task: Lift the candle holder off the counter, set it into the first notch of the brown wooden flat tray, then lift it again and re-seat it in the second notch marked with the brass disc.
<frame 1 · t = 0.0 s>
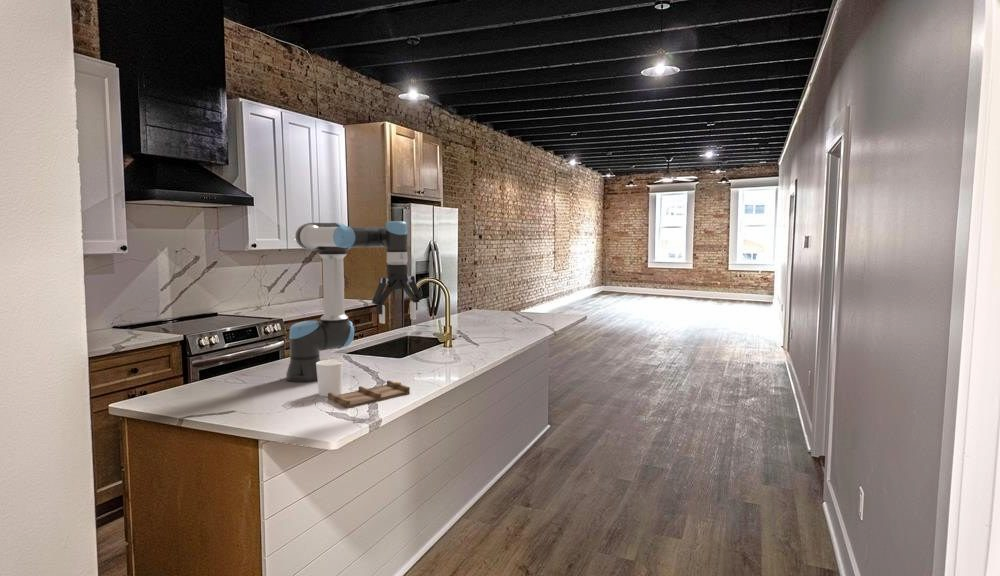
hand: (398, 321, 209), 28 cm above the table, fingers open, 13 cm apart
candle holder: (330, 394, 214), on the table
brown wooden flat tray: (369, 396, 210), on the table
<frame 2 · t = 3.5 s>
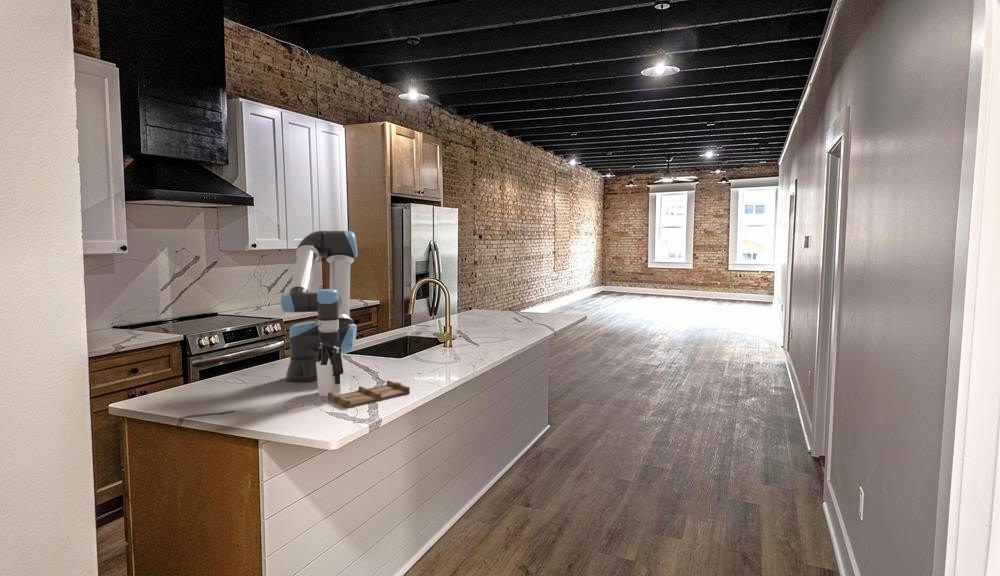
hand: (330, 389, 214), 2 cm above the table, fingers closed on candle holder, 9 cm apart
candle holder: (330, 394, 214), on the table, touching gripper
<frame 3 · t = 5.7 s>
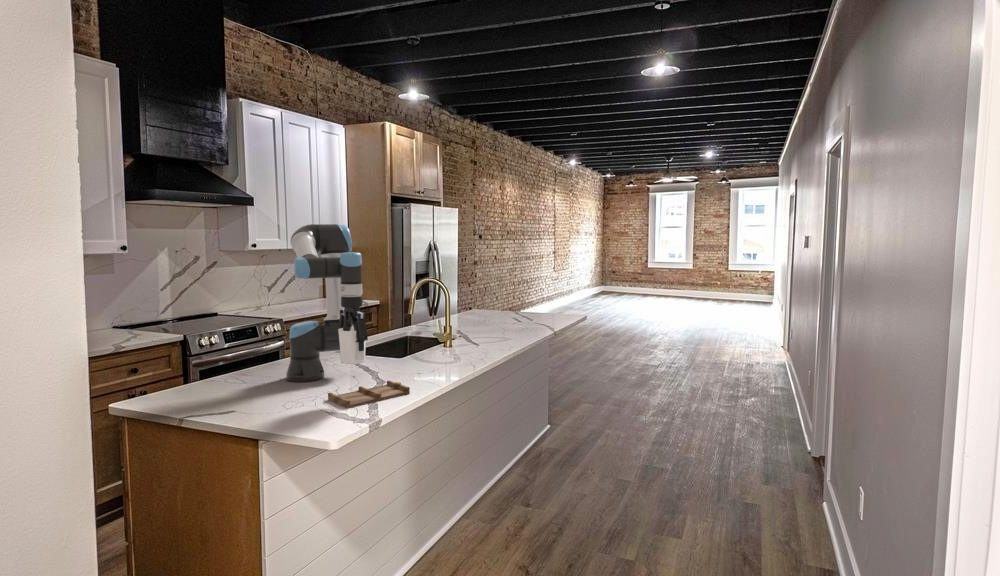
hand: (353, 357, 204), 16 cm above the table, fingers closed on candle holder, 9 cm apart
candle holder: (353, 362, 204), point 14 cm above the table, touching gripper
when the fingers open (4 cm above the table, at t = 8.3 s): candle holder drops 1 cm, resting on brown wooden flat tray.
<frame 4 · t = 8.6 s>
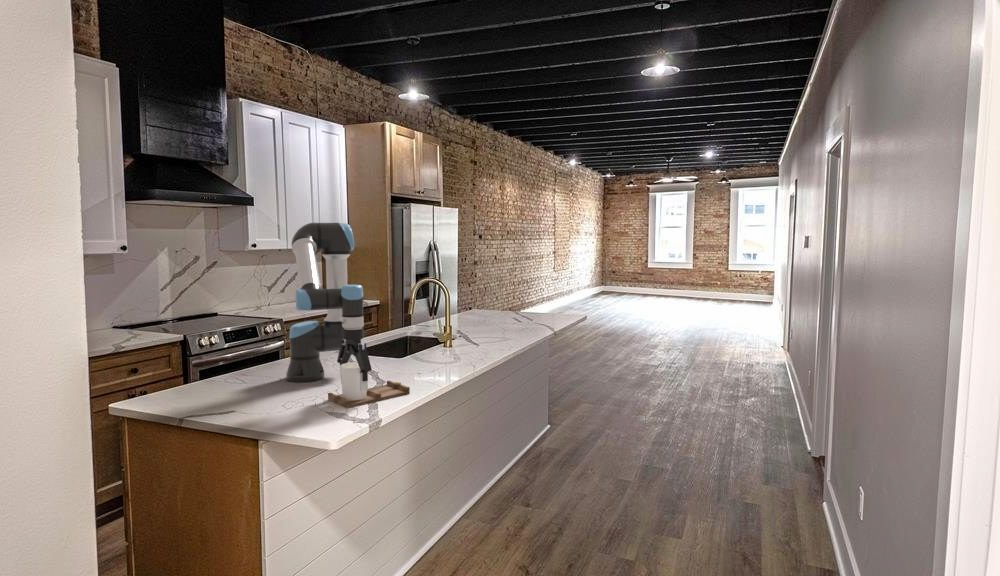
hand: (354, 386, 205), 5 cm above the table, fingers open, 13 cm apart
candle holder: (354, 398, 206), point 1 cm above the table, touching brown wooden flat tray
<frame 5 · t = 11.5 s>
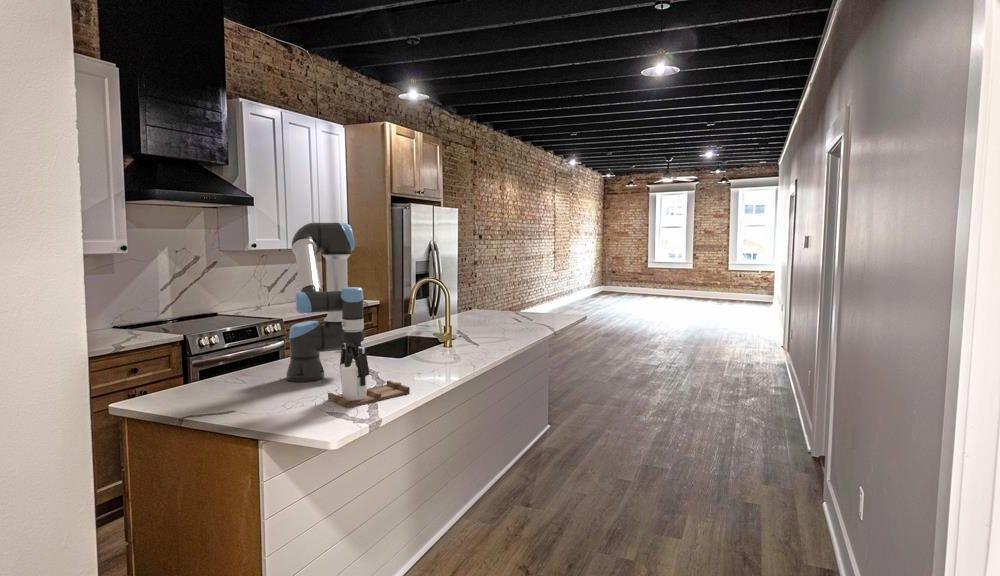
hand: (354, 391, 205), 3 cm above the table, fingers closed on candle holder, 9 cm apart
candle holder: (354, 397, 206), point 1 cm above the table, touching gripper, brown wooden flat tray
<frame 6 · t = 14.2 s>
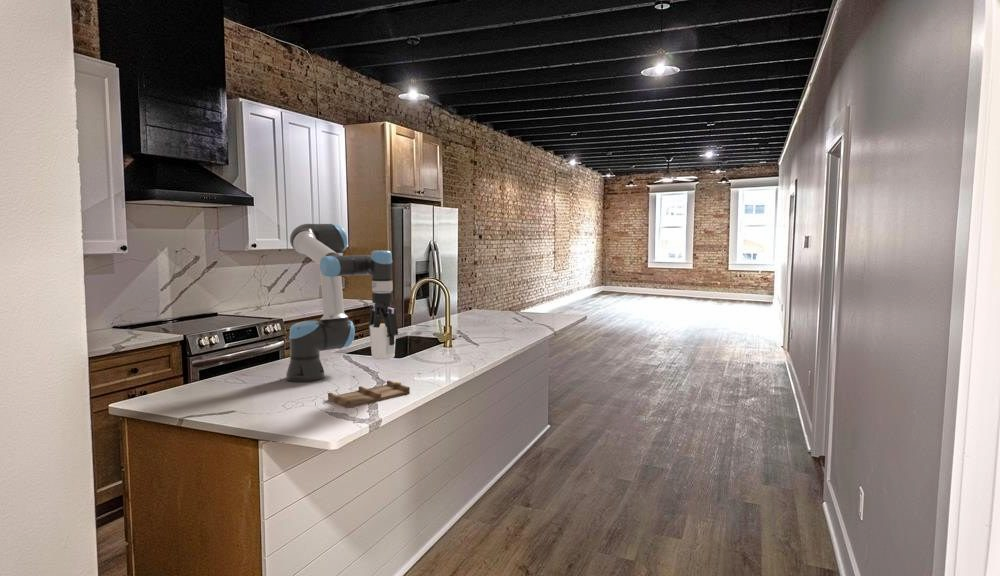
hand: (383, 351, 213), 16 cm above the table, fingers closed on candle holder, 9 cm apart
candle holder: (383, 357, 213), point 14 cm above the table, touching gripper
when the fingers open (4 cm above the table, at t = 16.8 s): candle holder stays where it is, resting on brown wooden flat tray.
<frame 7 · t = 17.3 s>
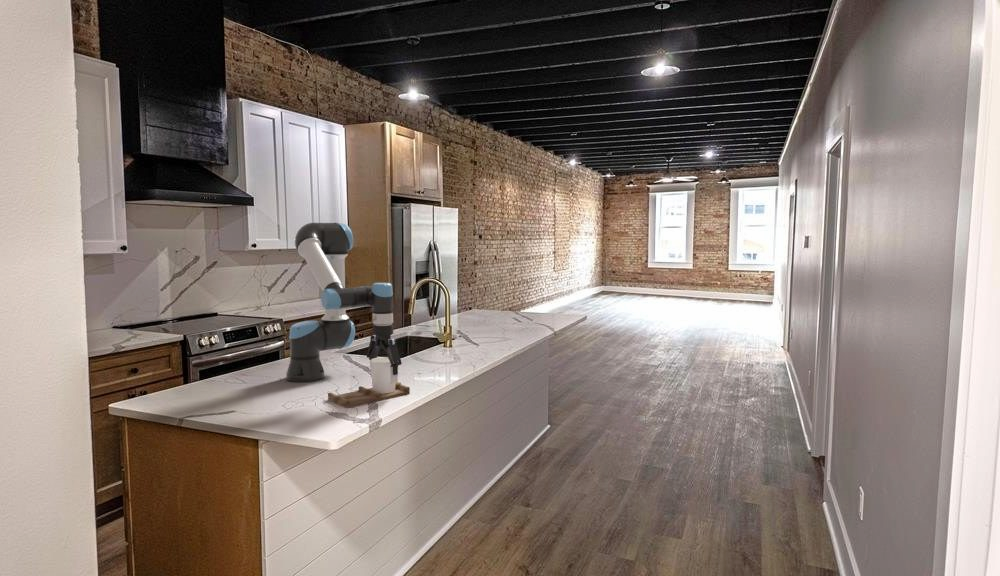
hand: (383, 379, 214), 5 cm above the table, fingers open, 13 cm apart
candle holder: (384, 391, 214), point 1 cm above the table, touching brown wooden flat tray
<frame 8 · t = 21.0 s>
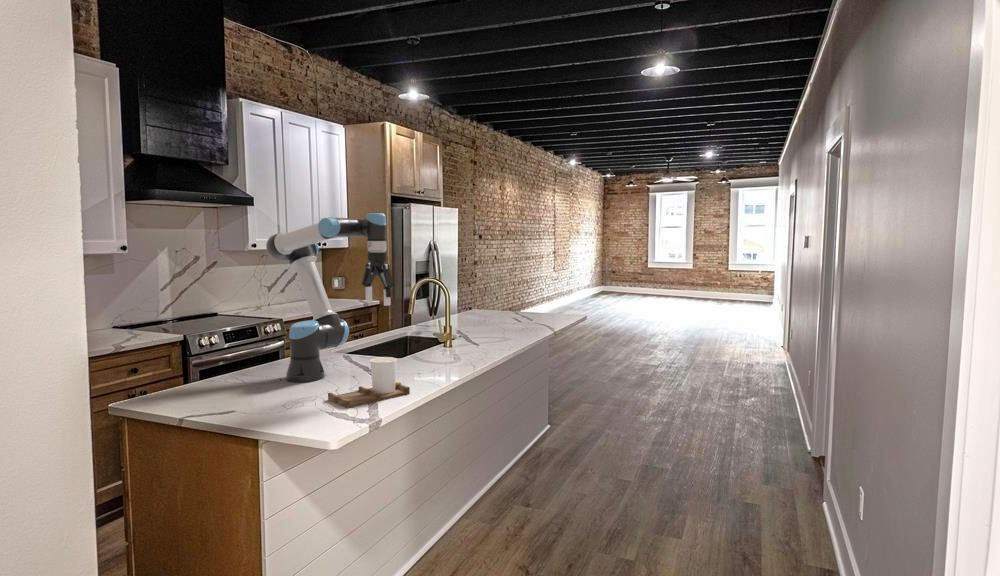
hand: (378, 304, 231), 32 cm above the table, fingers open, 13 cm apart
nothing on the table moved.
at the end: candle holder inside the target area on the brown wooden flat tray (0.0 cm from its centre), point 0.8 cm above the brown wooden flat tray's base; candle holder tilted 0°; the gripper is holding nothing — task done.
